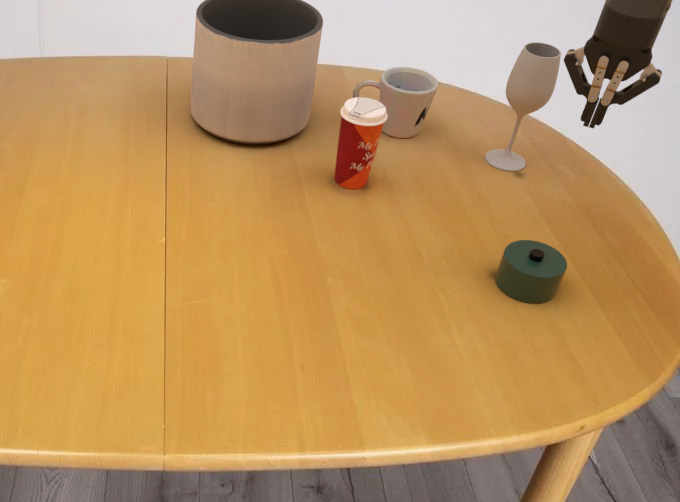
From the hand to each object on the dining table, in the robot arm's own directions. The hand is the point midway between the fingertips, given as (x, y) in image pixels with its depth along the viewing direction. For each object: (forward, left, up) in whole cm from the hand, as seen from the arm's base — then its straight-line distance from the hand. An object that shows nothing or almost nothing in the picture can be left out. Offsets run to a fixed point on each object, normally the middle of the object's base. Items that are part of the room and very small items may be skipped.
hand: (589, 124), depth 124 cm
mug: (+23, -34, -22) cm, 47 cm away
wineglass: (+2, -26, -22) cm, 34 cm away
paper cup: (+30, -14, -22) cm, 40 cm away
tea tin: (+4, +10, -22) cm, 24 cm away
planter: (+49, -32, -22) cm, 63 cm away
